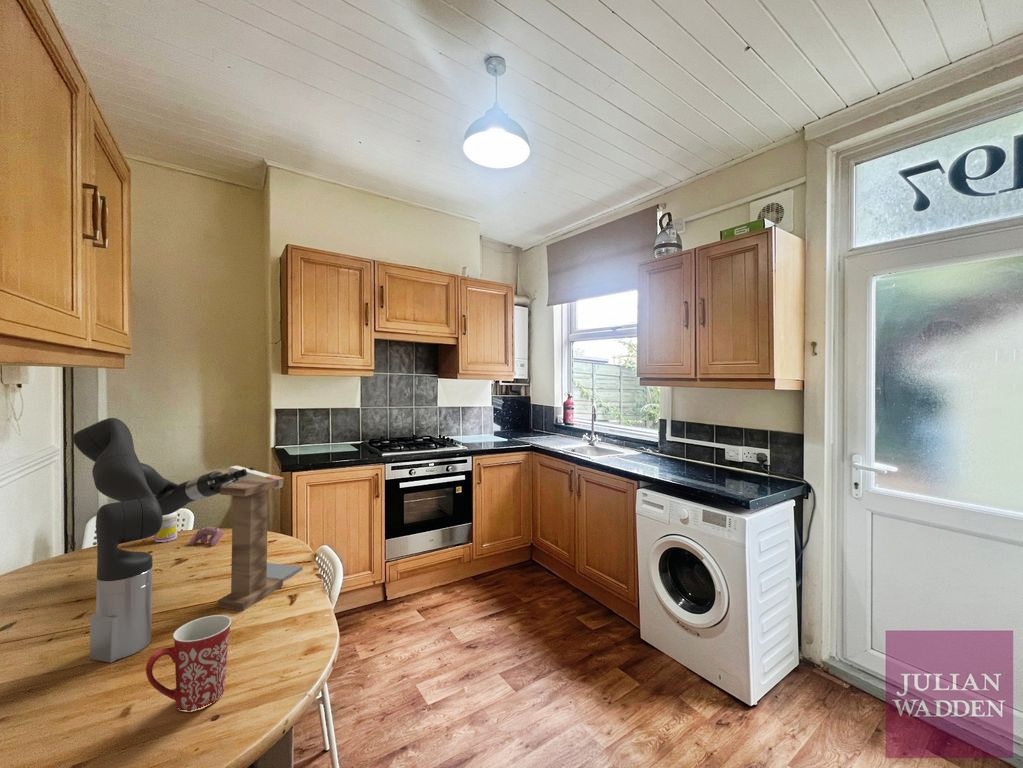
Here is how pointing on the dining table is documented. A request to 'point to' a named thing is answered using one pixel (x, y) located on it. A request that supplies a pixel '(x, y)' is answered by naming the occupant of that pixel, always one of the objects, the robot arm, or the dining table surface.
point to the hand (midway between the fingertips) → (250, 471)
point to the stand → (249, 544)
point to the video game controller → (204, 533)
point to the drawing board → (282, 571)
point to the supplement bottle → (167, 528)
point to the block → (256, 475)
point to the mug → (196, 662)
